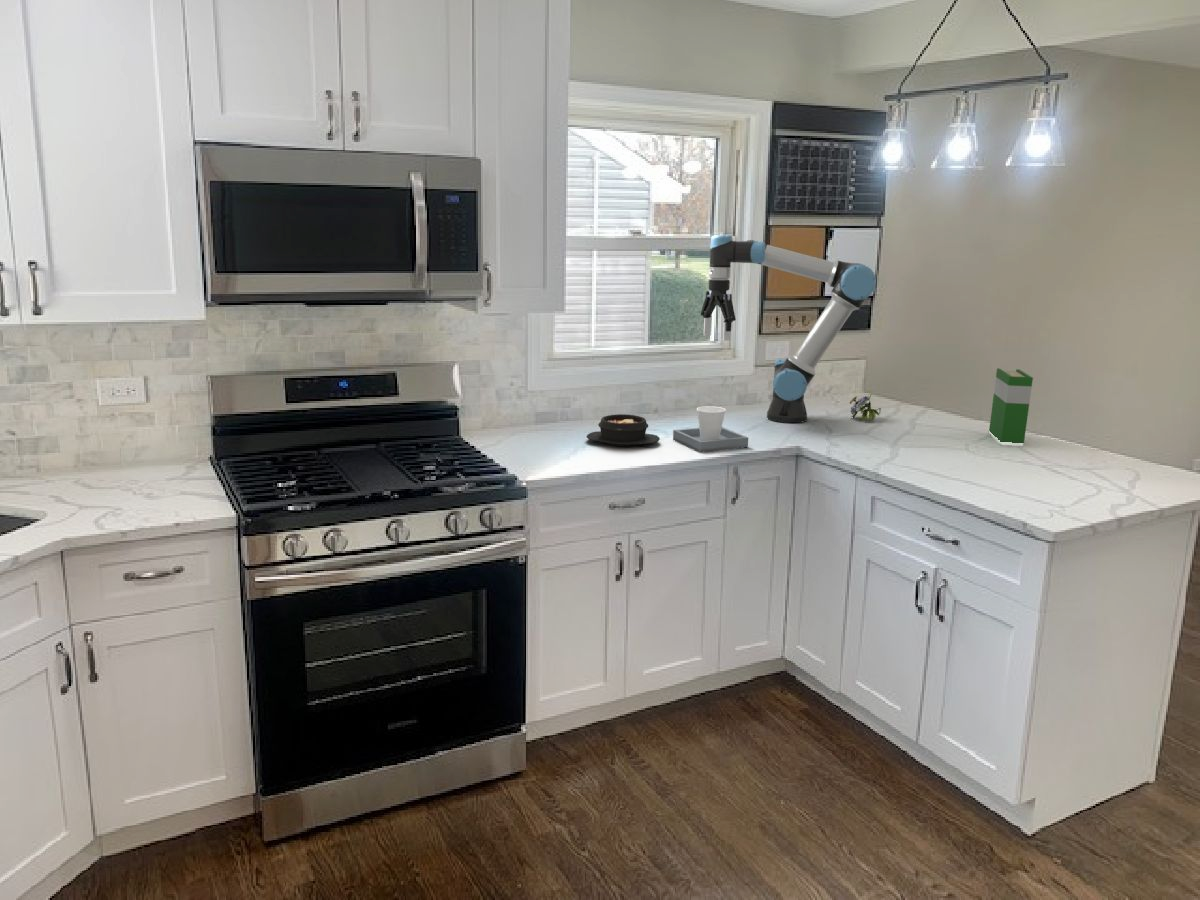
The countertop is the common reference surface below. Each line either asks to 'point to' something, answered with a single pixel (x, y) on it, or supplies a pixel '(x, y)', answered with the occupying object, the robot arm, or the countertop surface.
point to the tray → (724, 442)
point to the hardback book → (1010, 405)
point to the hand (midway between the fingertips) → (716, 338)
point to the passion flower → (861, 406)
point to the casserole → (623, 431)
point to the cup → (710, 422)
